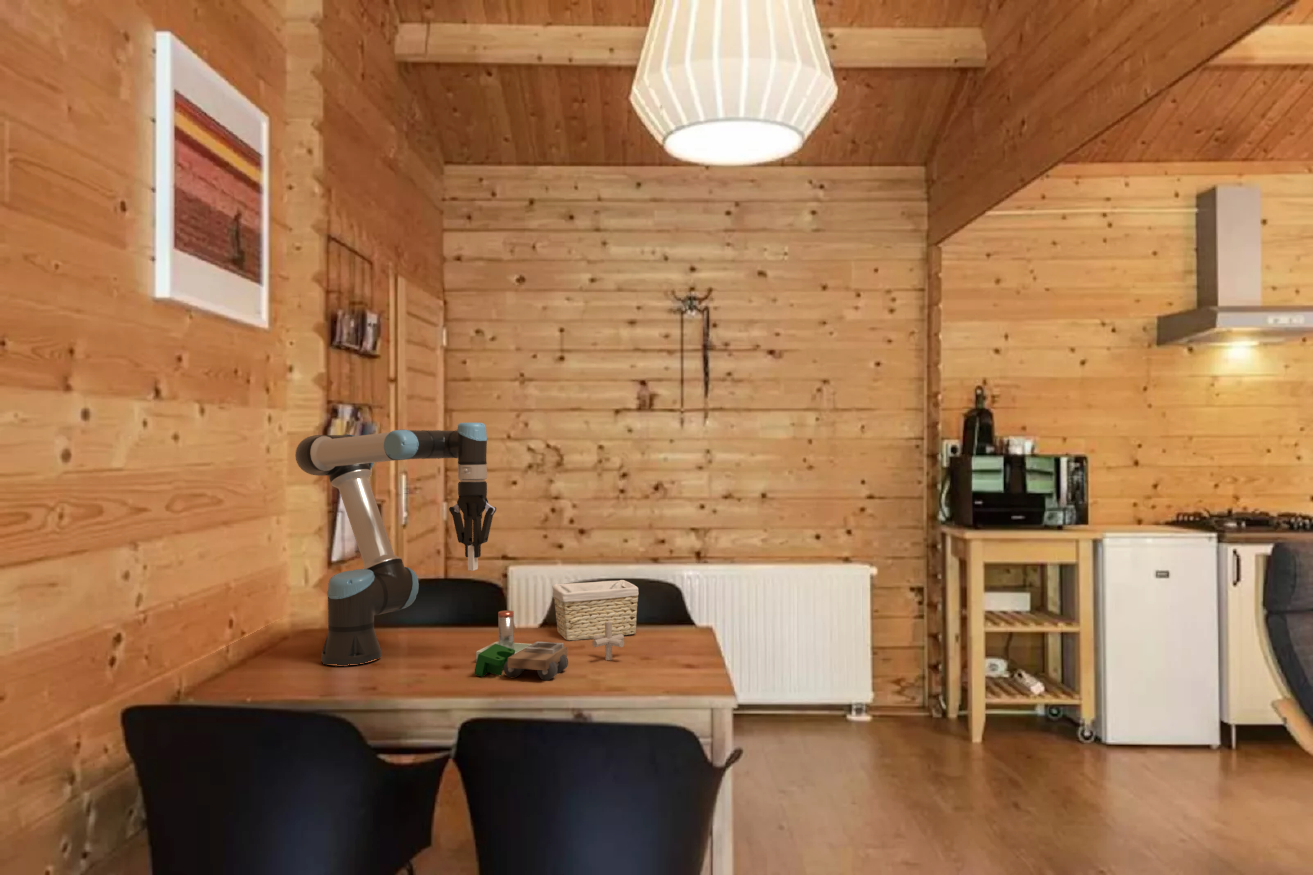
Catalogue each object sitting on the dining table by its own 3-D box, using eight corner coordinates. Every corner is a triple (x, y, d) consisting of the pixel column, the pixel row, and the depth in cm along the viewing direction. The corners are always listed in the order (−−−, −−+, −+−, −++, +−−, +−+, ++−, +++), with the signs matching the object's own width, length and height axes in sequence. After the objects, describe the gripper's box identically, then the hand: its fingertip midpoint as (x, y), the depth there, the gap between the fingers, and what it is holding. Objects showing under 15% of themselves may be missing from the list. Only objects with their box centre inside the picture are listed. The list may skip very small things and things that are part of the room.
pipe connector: (582, 660, 229) (581, 622, 229) (609, 653, 236) (608, 616, 236) (608, 666, 222) (608, 627, 222) (635, 659, 229) (635, 621, 230)
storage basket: (562, 642, 249) (562, 591, 250) (551, 631, 265) (550, 583, 265) (641, 636, 257) (640, 586, 257) (625, 625, 272) (625, 578, 272)
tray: (476, 663, 227) (476, 651, 227) (495, 652, 238) (495, 641, 238) (516, 665, 224) (516, 654, 224) (534, 655, 235) (534, 644, 235)
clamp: (495, 694, 214) (497, 665, 210) (473, 686, 215) (475, 658, 211) (515, 664, 224) (517, 636, 221) (494, 657, 226) (496, 630, 222)
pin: (496, 658, 229) (495, 613, 229) (502, 654, 233) (502, 610, 233) (510, 659, 228) (509, 613, 228) (516, 655, 232) (515, 610, 232)
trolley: (499, 679, 210) (499, 653, 210) (523, 665, 224) (523, 640, 224) (550, 683, 207) (550, 656, 207) (571, 668, 220) (571, 643, 220)
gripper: (443, 481, 226) (443, 571, 226) (488, 481, 223) (488, 572, 223) (457, 480, 233) (457, 567, 233) (501, 480, 230) (501, 568, 230)
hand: (473, 569), depth 228 cm, fingers closed
